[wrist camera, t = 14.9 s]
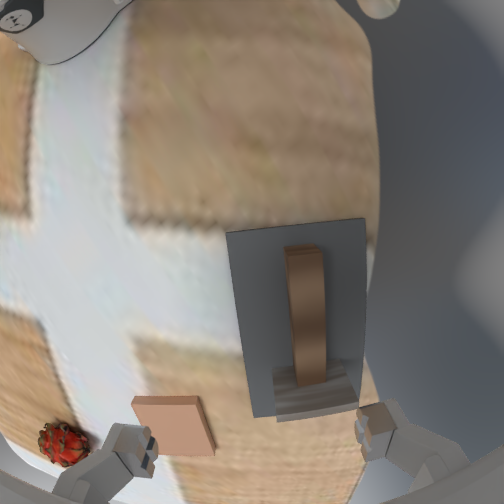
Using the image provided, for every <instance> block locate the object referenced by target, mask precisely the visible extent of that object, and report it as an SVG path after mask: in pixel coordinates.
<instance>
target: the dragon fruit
mask: <svg viewBox="0 0 504 504" xmlns="http://www.w3.org/2000/svg"><path fill="white" fill-rule="evenodd" d="M46 425H47V427H44V428H46V431H43V430H41V431H39V433H40V436H41V437H39V439H38V445H39V447H40V452H41V453H43V454H44V455H47V456H48V457H49V458H50V459H51V462H52V463H53V464H54V463H55V462H58V463H60V464H61V465H62V467H69V466H73V465H75V464H76V463H78V462H80V461H81V460H83V459H84V458H86V457H87V456H89V455H88V454H89V453H90V450H89V445H88V447H87V446H86V445H85V444H84V442H88V439H87V438H86V437H85V436H82V434H81V433H78V432H75V433H73V432H70V430H69V428H68V425H67V424H62V423H61V424H59V426H58V427H56V428H54V426H53V425H52V424H50V423H46V424H45V426H46ZM76 433H78V434H76Z"/></svg>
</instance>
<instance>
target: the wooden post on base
mask: <svg viewBox="0 0 504 504" xmlns="http://www.w3.org/2000/svg"><path fill="white" fill-rule="evenodd" d="M283 251H284V261H285V271H286V282H287V293H288V305H289V317H290V329H291V342H292V355H293V366H288V367H280V368H272V378H273V388H274V398H275V408H276V418H277V422H285V421H293V420H300V419H307V418H313V417H319V416H325V415H330V414H336V413H341V412H345V411H350V410H355V409H358V408H359V400H358V397H357V395H356V393H355V391H354V389H353V386H352V384H351V382H350V380H349V378H348V376H347V373H346V371H345V369H344V367H343V365H342V363H341V361H340V358H339V359H334V360H328V361H326V320H325V292H324V271H323V255H322V252H321V251H320V250H319V249H318V248H317V247H316V246H315V245H314V244H313V243H311V244H302V245H294V246H285V247H283Z"/></svg>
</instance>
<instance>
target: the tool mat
mask: <svg viewBox="0 0 504 504" xmlns="http://www.w3.org/2000/svg"><path fill="white" fill-rule="evenodd" d="M226 240H227V247H228V255H229V262H230V269H231V276H232V283H233V290H234V297H235V304H236V310H237V317H238V324H239V330H240V337H241V343H242V350H243V356H244V362H245V368H246V375H247V381H248V387H249V393H250V399H251V405H252V411H253V416H254V418H258V417H269V416H276V408H275V398H274V388H273V378H272V368H280V367H288V366H293V355H292V342H291V329H290V317H289V305H288V293H287V282H286V271H285V261H284V251H283V247H285V246H294V245H302V244H311V243H313V244H314V245H315V246H316V247H317V248H318V249H319V250H320V251H321V252H322V255H323V271H324V292H325V320H326V361H328V360H334V359H339V358H340V361H341V363H342V365H343V367H344V369H345V371H346V373H347V376H348V378H349V380H350V382H351V384H352V386H353V389H354V391H355V393H356V395H357V397H358V400H359V397H360V388H361V378H362V368H363V356H364V342H365V341H364V340H365V322H366V285H367V267H366V229H365V219H364V218H358V219H347V220H337V221H327V222H317V223H307V224H297V225H288V226H279V227H270V228H261V229H252V230H243V231H235V232H226Z"/></svg>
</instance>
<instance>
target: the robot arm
mask: <svg viewBox="0 0 504 504" xmlns="http://www.w3.org/2000/svg"><path fill="white" fill-rule="evenodd" d="M131 1H132V0H0V32H2V33H3V34H5V35H6V36H7V37H9V38H10V39H12V40H13V41H15V42H16V43H17V44H18V47H19V48H20V49H21V50H23V51H26V52H29V53H30V54H31V55H32V56H33V57H34V58H35V59H36V60H37V61H38V62H40V63H42V64H56V63H60V62H63V61H65V60H67V59H69V58H71V57H73V56H75V55H76V54H78V53H79V52H81V51H82V50H84V49H85V48H86V47H88V46H89V45H90V44H91V43H92V42H93V41H94V40H95V39H96V38H98V36H99V35H100V34H101V33H102V32H103V31H104V30H105V29H106V27H107V26H108V25H109V24H110V22H111V21H112V19H113V18H114V17H115V15H116V14H117V13H118V12H119V11H120V10H121V9H122V8H123V7H125V6H126V5H127V4H129V3H130V2H131ZM356 415H357V417H358V419H357V420H356V421H355V435H356V439H357V442H358V443H360V444H362V446H361V453H362V455H363V458H364V461H365V462H368V461H372V460H376V459H379V458H383V457H386V459H388V460H389V461H390V462H392V463H393V464H395V465H396V466H398V467H399V468H400V469H402V470H403V471H405V472H406V473H408V474H409V475H411V476H412V477H414V478H415V479H414V481H413V483H412V485H411V486H410V488H409V489H408V494H406V495H403V496H400V497H398V498H395V499H392V500H389V501H386V502H383V503H380V504H504V444H503V445H502V446H500V447H499V448H497V449H496V450H494V451H492V452H491V453H489V454H488V455H486V456H484V457H483V458H481V459H479V460H478V461H476V462H474V463H473V464H470V462H469V460H468V459H467V457H466V456H465V454H464V452H463V451H462V449H461V448H460V446H459V445H458V443H455V442H453V441H451V440H448V439H446V438H444V437H441V436H439V435H437V434H435V433H433V432H430V431H428V430H426V429H424V428H422V427H420V426H417V425H415V424H411V425H410V423H409V422H408V420H407V418H406V416H405V415H404V413H403V411H402V410H401V408H400V406H399V404H398V403H397V401H396V399H394V398H392V399H389V400H385V401H382V402H378V403H374V404H370V405H367V406H363V407H359V408H358V409H357V412H356ZM151 433H152V431H151V430H150V428H149V427H148V426H139V425H129V424H120V423H114V424H113V425H112V427H111V429H110V431H109V433H108V436H107V438H106V440H105V442H104V444H103V446H102V449H101V450H100V449H98V450H96V451H95V452H93V453H92V454H90V455H89V456H87V457H86V458H84V459H83V460H81V461H80V462H78V463H76V464H75V465H73V466H72V467H70V468H69V469H67V470H65V471H64V472H62V473H61V475H60V477H59V479H58V481H57V483H56V485H55V487H54V489H53V491H52V493H50V492H47V491H45V490H42V489H40V488H38V487H35V486H33V485H31V484H29V483H27V482H25V481H22V480H20V479H18V478H16V477H14V476H12V475H10V474H8V473H6V472H5V471H3V470H1V469H0V504H110V503H109V502H108V501H109V500H111V499H112V498H113V497H114V496H115V495H116V494H117V493H118V492H119V491H120V490H121V489H122V488H123V487H124V486H125V485H126V484H127V483H129V482H130V481H131V480H132V479H133V478H134V477H142V478H152V477H153V473H154V469H155V465H154V464H153V462H154V461H155V460H156V459H157V458H158V454H159V447H158V443H157V441H156V439H155V438H154V437H152V436H151Z"/></svg>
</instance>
